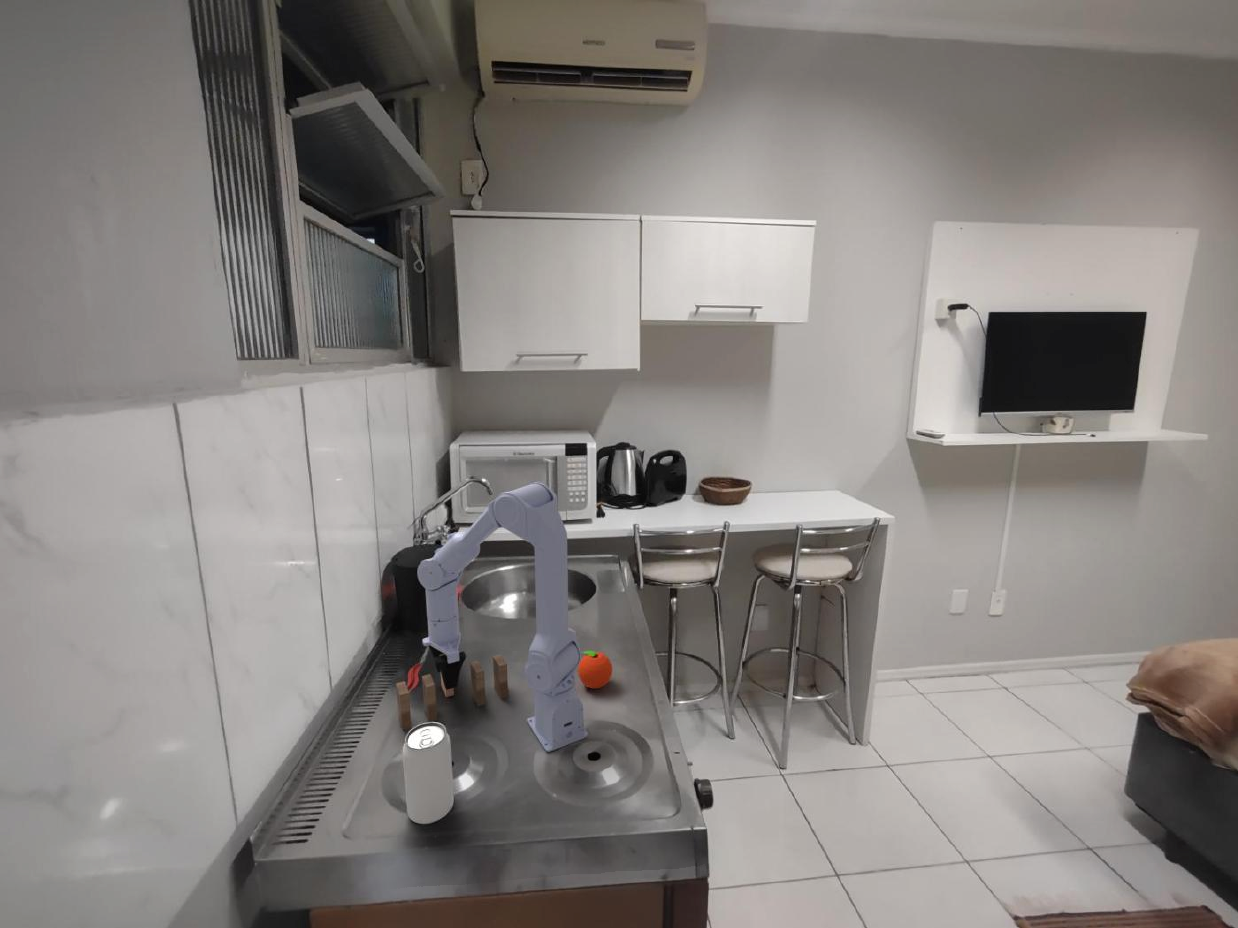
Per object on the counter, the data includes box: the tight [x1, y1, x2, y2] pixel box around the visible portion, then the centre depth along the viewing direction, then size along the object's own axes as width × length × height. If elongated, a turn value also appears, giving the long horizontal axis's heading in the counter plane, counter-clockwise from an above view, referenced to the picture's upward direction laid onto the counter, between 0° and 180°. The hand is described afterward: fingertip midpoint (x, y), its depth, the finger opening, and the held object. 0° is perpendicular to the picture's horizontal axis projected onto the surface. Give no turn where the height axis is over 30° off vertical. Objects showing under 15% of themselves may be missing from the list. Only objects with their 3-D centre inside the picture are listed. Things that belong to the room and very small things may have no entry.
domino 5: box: [492, 654, 509, 700], centre depth 105 cm, size 4×2×7 cm, turn 31°
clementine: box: [577, 650, 613, 689], centre depth 108 cm, size 8×7×7 cm
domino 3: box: [440, 654, 455, 698], centre depth 106 cm, size 4×2×7 cm, turn 31°
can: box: [402, 721, 455, 825], centre depth 77 cm, size 6×6×12 cm
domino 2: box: [421, 673, 438, 722], centre depth 98 cm, size 4×2×7 cm, turn 31°
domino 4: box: [470, 660, 487, 707], centre depth 103 cm, size 4×2×7 cm, turn 31°
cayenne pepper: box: [406, 662, 423, 691], centre depth 111 cm, size 12×5×2 cm, turn 169°
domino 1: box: [395, 681, 412, 731], centre depth 96 cm, size 4×2×7 cm, turn 31°
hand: (446, 678), depth 106 cm, fingers open, 6 cm apart
